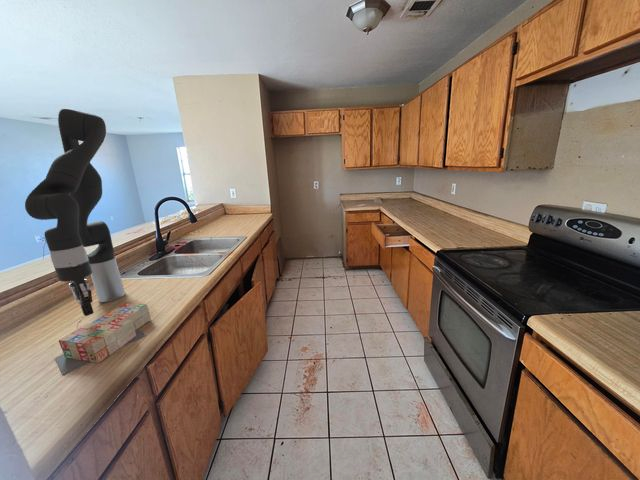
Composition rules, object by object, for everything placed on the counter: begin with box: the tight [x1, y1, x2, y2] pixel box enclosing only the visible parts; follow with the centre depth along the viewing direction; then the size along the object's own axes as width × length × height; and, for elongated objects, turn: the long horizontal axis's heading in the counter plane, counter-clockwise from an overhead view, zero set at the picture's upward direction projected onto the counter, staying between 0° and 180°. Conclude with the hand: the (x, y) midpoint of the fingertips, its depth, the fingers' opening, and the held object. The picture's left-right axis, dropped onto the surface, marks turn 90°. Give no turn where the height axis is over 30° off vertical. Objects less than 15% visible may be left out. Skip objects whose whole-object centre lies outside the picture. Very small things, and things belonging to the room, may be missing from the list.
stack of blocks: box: [58, 303, 151, 364], centre depth 83 cm, size 21×6×12 cm
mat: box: [54, 328, 147, 376], centre depth 80 cm, size 11×20×1 cm, turn 143°
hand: (88, 314), depth 81 cm, fingers closed
